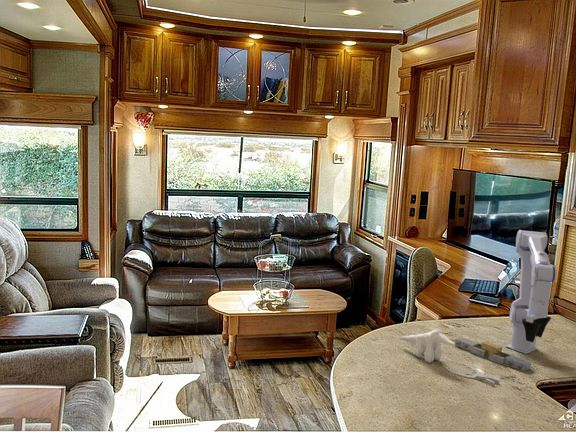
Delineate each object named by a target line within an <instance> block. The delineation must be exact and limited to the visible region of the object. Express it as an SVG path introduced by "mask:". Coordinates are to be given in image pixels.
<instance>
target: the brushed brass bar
mask: <svg viewBox="0 0 576 432" xmlns="http://www.w3.org/2000/svg"><path fill="white" fill-rule="evenodd" d="M481 344H482V346H481V349H482V350H484V351H486V354H485V356H486V357H485V358H488V359H489V355H490V353H492V354H495V355H498V356H500V357H501V353H502V351H503V346H501V345H499V344H496V343H493V342H490V341H487V340H485V341H483V342H481Z"/></svg>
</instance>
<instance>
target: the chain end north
mask: <svg viewBox="0 0 576 432" xmlns="http://www.w3.org/2000/svg"><path fill="white" fill-rule="evenodd" d="M488 360H489V361H491V362H494V363H496V362H497V363H496V364H499V363H500V364H499V365H501V364H502V365H501V366H504V365H505V366H507V365H508V366H507V367H509V368H512V367H513V368H512V369H516V370H519V371H520V372H523V373H526V372H528V371H529V370H531V367H532V364H533V363H532V361H529V360H526V359H523V358H520V357H519V356H515V355H514V354H511V353H508V352H506V351H504V350H502V353H501V357H500V356H498V355H495V354H492V353H490V355H489V358H488ZM503 364H504V365H503Z"/></svg>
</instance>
